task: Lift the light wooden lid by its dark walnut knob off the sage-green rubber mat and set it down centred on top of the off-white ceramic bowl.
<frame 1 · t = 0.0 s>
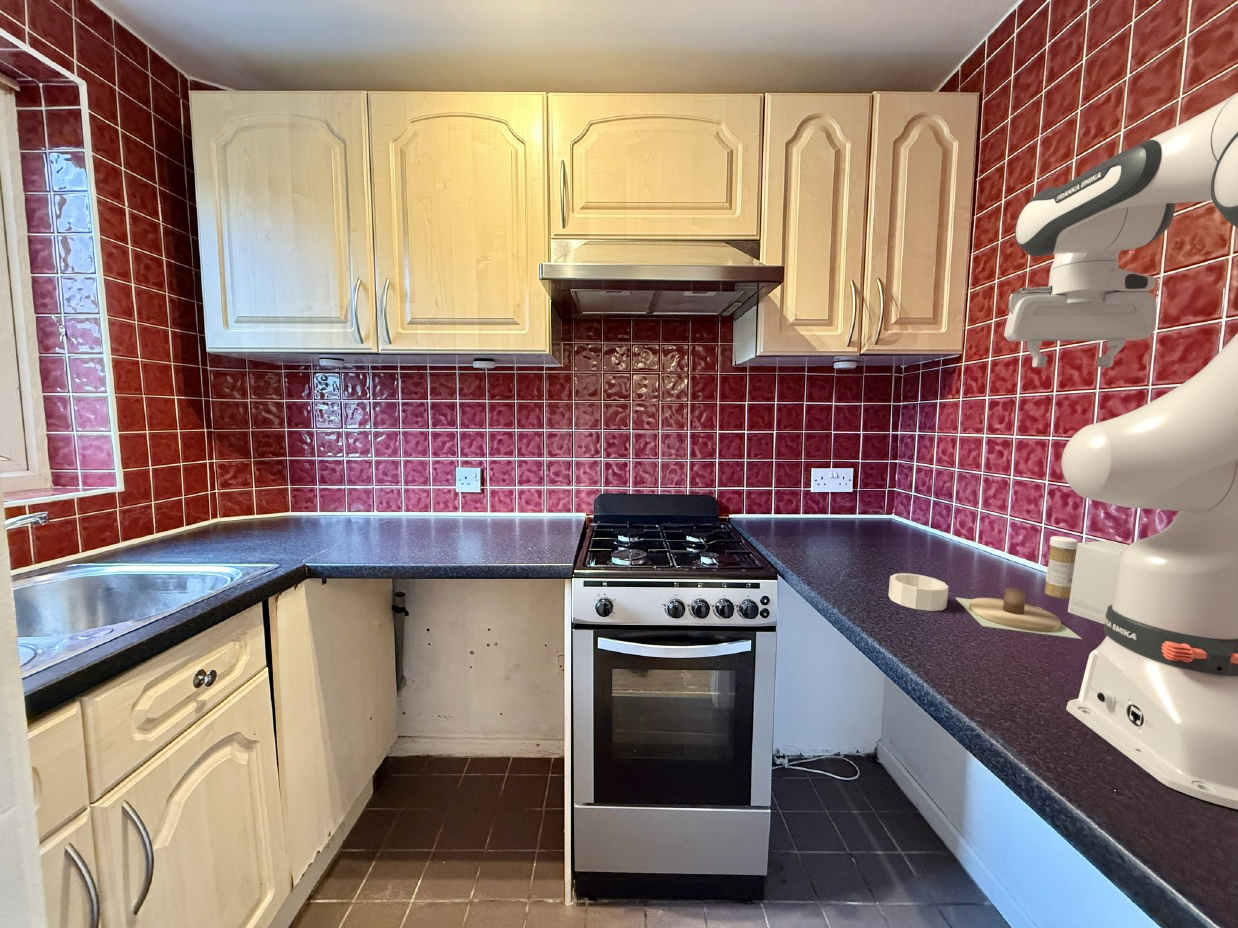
hand: (1071, 366, 89), 48 cm above the worktop, tool pointing down, fingers open, 8 cm apart
mat: (1012, 620, 98), on the worktop
lid: (1012, 616, 98), point 1 cm above the worktop, touching mat
sprinkles bottle: (1056, 599, 111), on the worktop
supplement box: (1107, 622, 99), on the worktop
bowl: (916, 604, 105), on the worktop
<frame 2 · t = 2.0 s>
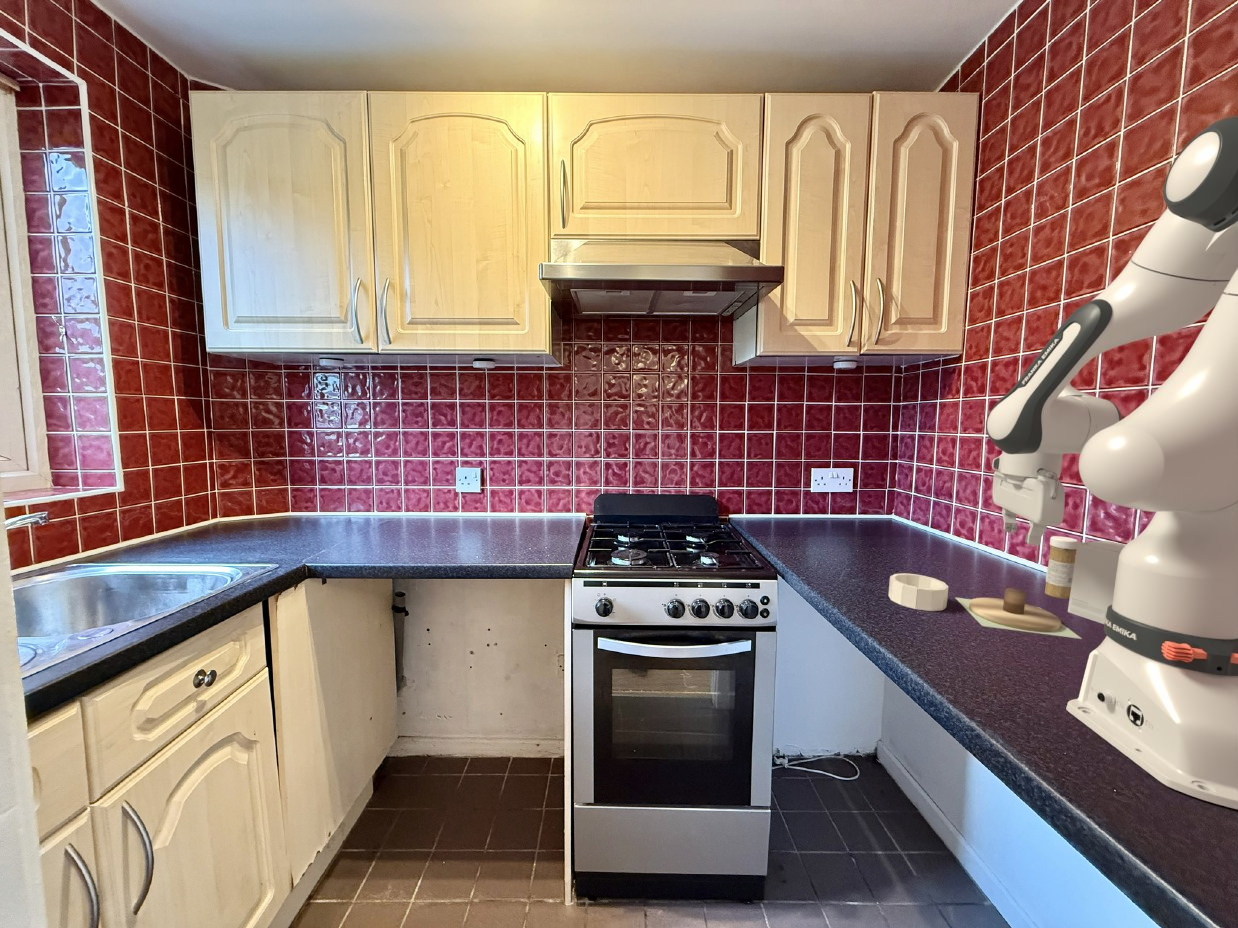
hand: (1020, 538, 97), 16 cm above the worktop, tool pointing down, fingers open, 8 cm apart
nothing on the worktop moved.
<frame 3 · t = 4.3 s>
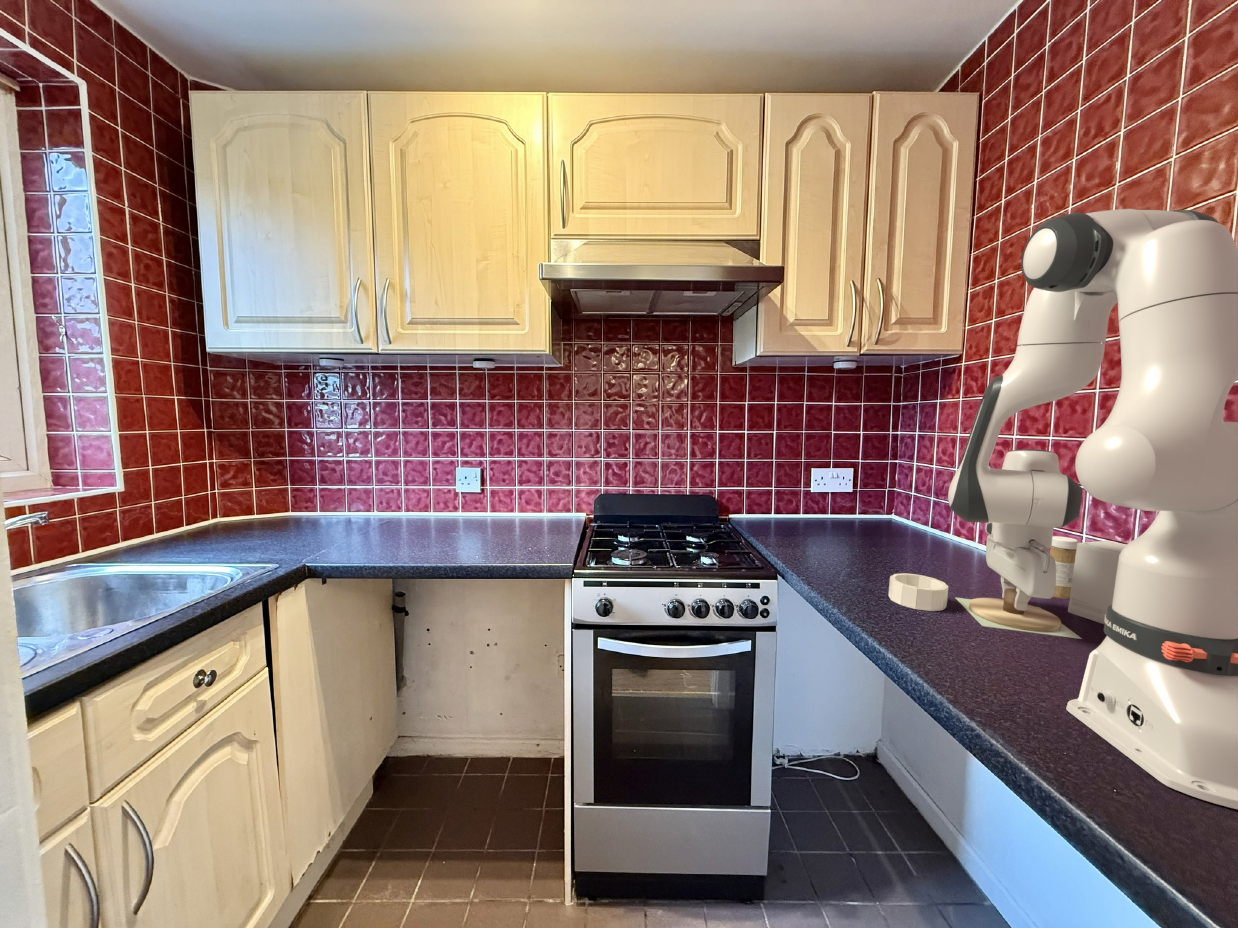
hand: (1013, 604, 98), 3 cm above the worktop, tool pointing down, fingers closed on lid, 3 cm apart
lid: (1012, 616, 98), point 1 cm above the worktop, touching gripper, mat
everything else where it was.
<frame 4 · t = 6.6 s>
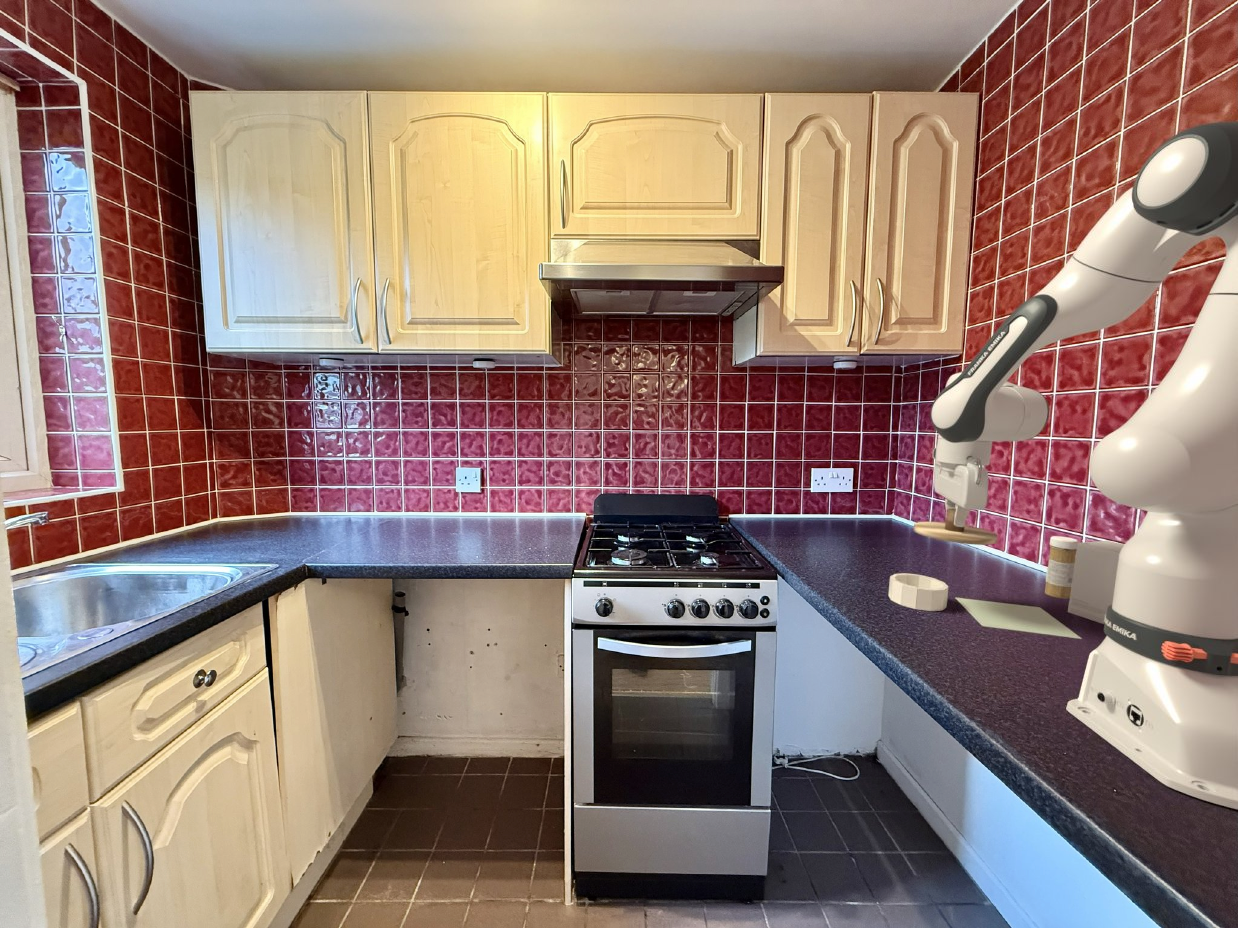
hand: (954, 523, 101), 18 cm above the worktop, tool pointing down, fingers closed on lid, 3 cm apart
lid: (953, 534, 102), point 15 cm above the worktop, touching gripper
everything else where it was.
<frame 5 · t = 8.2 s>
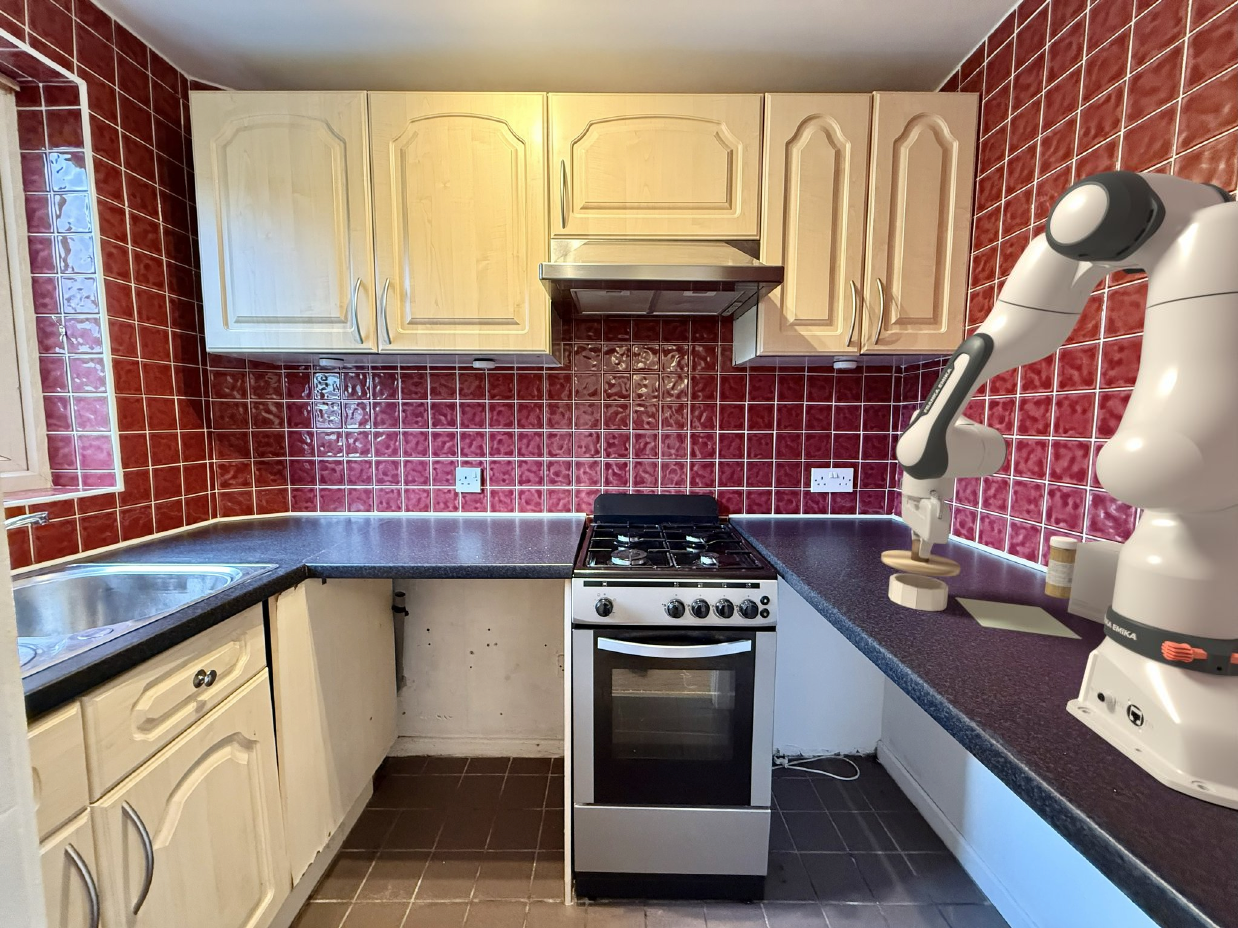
hand: (920, 554, 104), 11 cm above the worktop, tool pointing down, fingers closed on lid, 3 cm apart
lid: (919, 564, 104), point 8 cm above the worktop, touching gripper
everything else where it was.
when the fingers open (9 cm above the worktop, at t = 9.2 s): lid drops 1 cm, resting on bowl.
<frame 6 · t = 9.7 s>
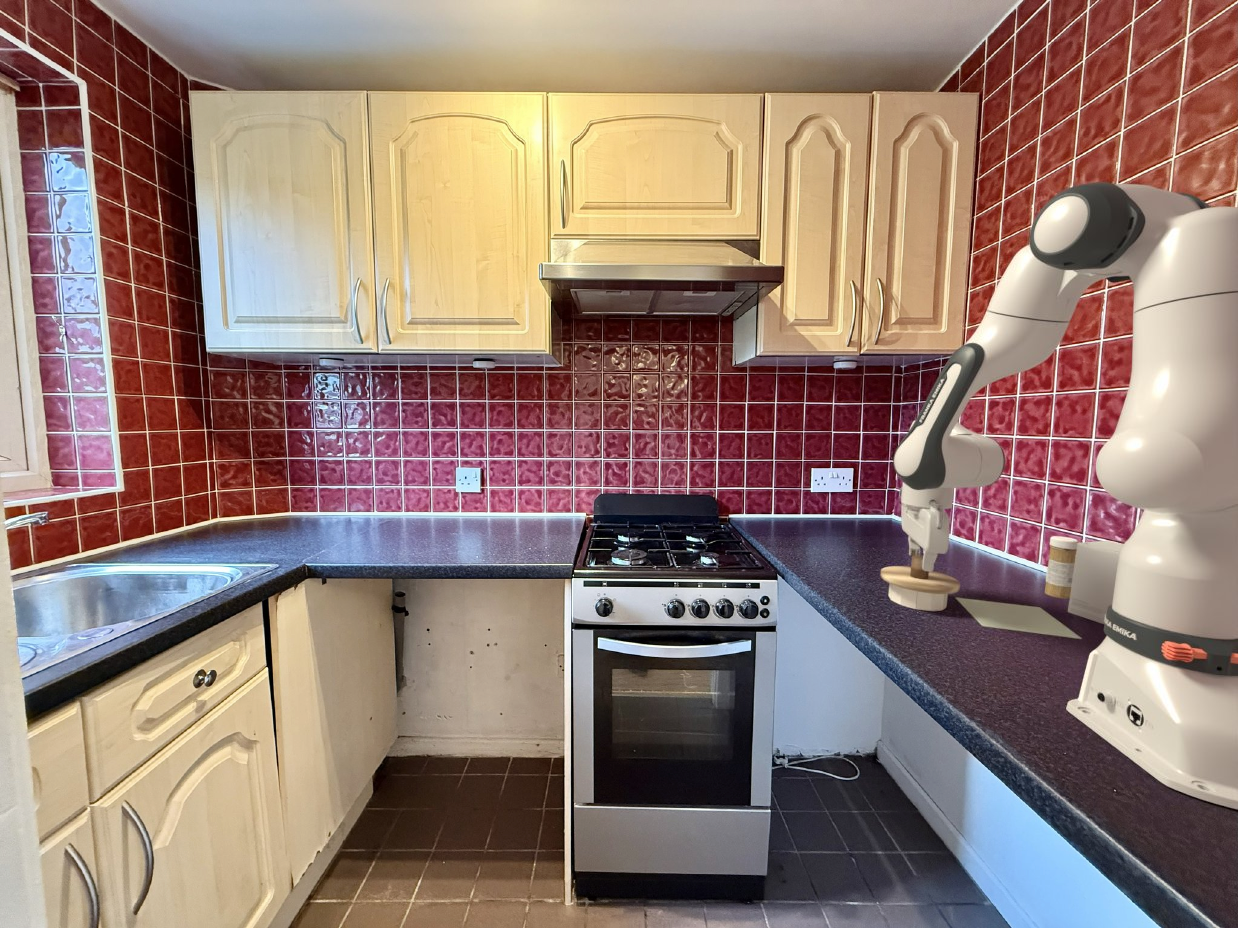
hand: (920, 563, 104), 9 cm above the worktop, tool pointing down, fingers open, 8 cm apart
lid: (918, 581, 104), point 5 cm above the worktop, touching bowl
everything else where it was.
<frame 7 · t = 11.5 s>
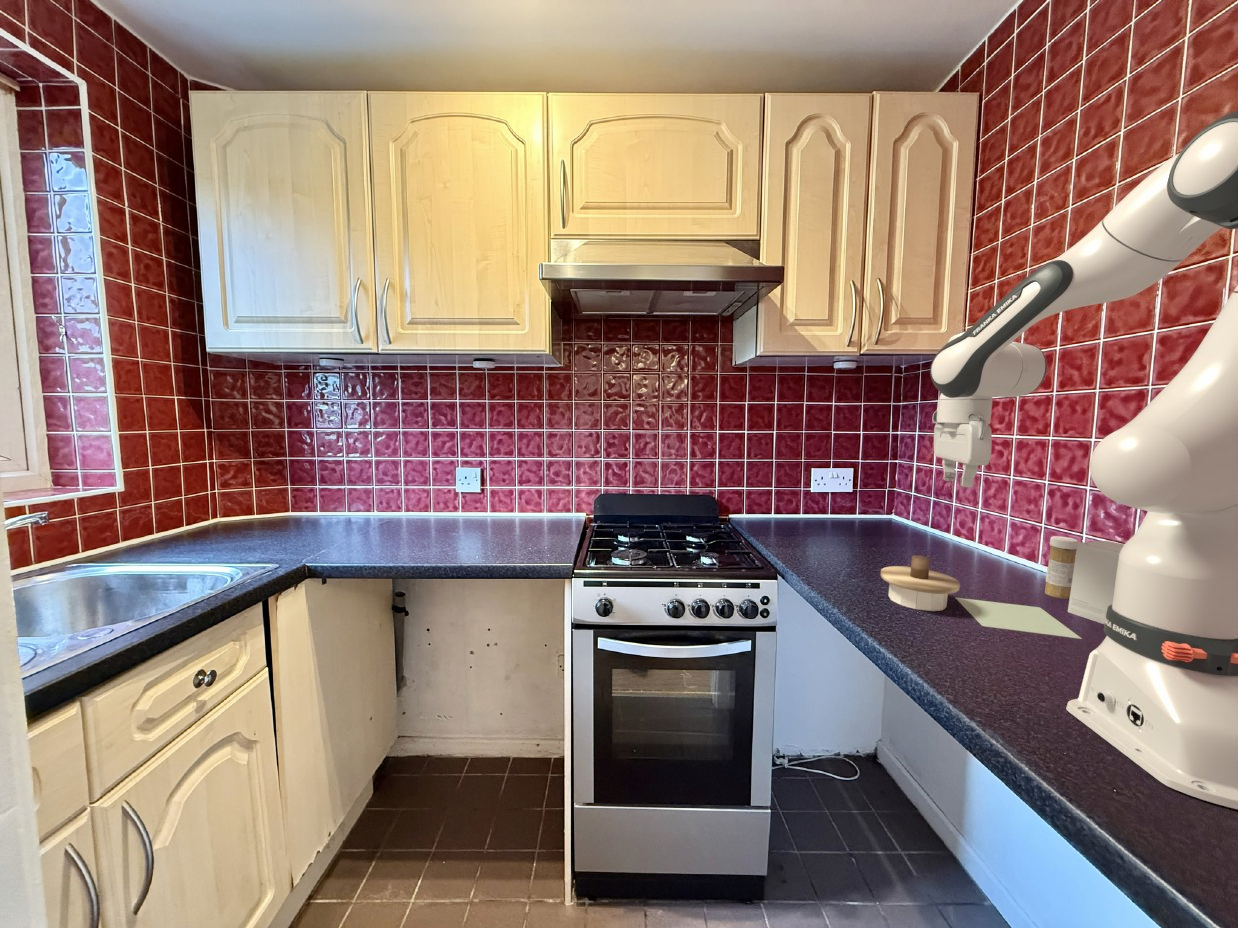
hand: (957, 483, 103), 25 cm above the worktop, tool pointing down, fingers open, 8 cm apart
nothing on the worktop moved.
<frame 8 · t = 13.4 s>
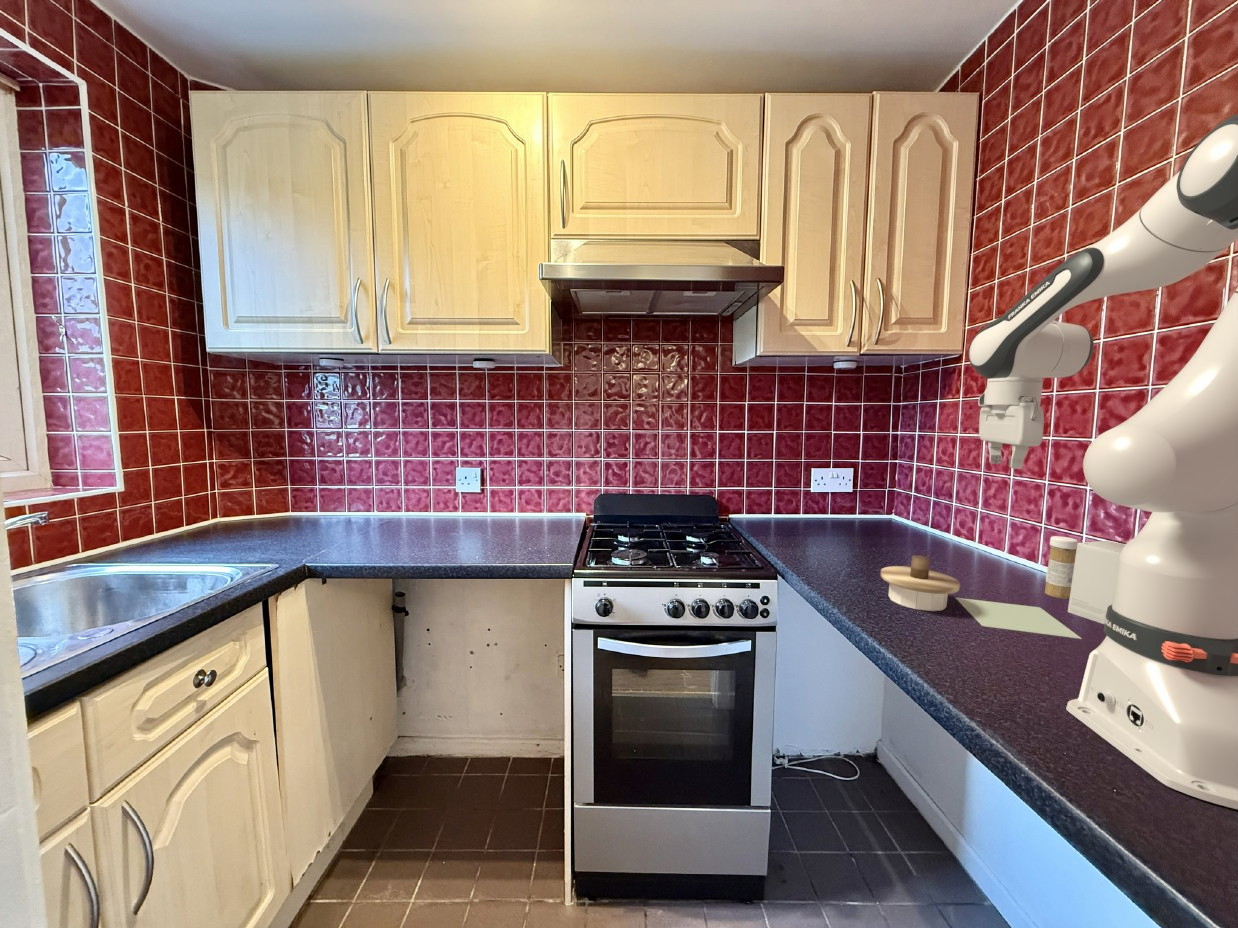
hand: (1004, 466, 103), 29 cm above the worktop, tool pointing down, fingers open, 8 cm apart
nothing on the worktop moved.
at the end: lid 0.1 cm off-centre on the bowl, point 5.0 cm above the bowl's base; lid tilted 0°; the gripper is holding nothing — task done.
